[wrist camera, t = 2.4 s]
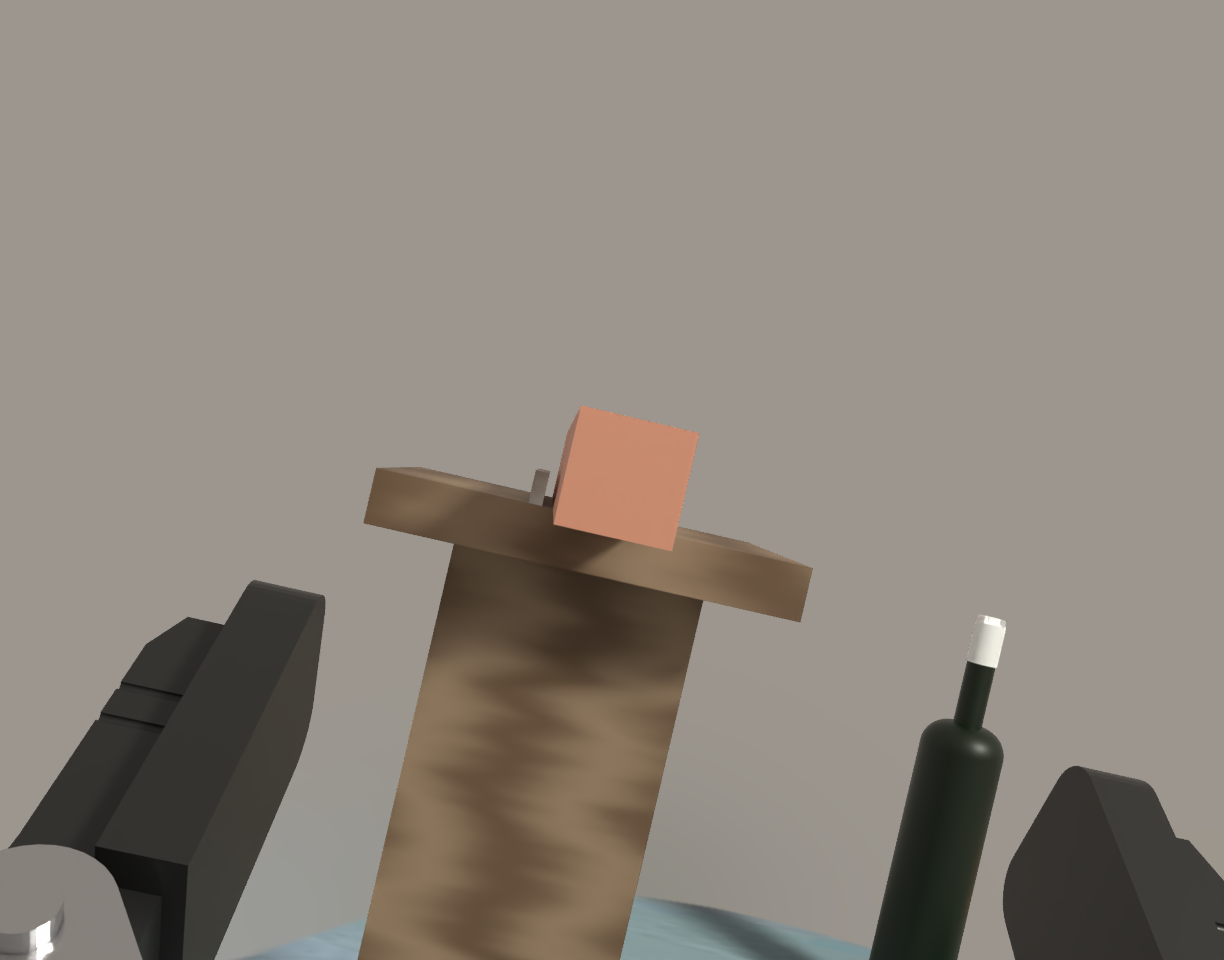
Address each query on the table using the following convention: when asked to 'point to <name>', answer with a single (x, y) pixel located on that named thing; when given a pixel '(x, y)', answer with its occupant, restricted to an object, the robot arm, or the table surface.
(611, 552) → the wooden pedestal
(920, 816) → the wine bottle
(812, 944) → the table surface
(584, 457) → the stick
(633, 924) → the table surface
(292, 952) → the table surface
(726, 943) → the table surface
